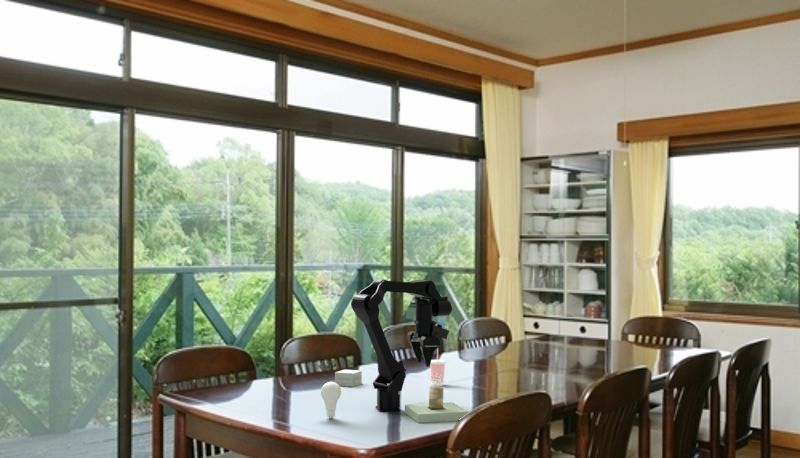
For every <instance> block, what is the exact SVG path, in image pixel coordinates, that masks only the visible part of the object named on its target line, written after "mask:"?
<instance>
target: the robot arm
mask: <svg viewBox="0 0 800 458" xmlns="http://www.w3.org/2000/svg"><path fill="white" fill-rule="evenodd" d="M387 292H390V293H391V292H392V293H403V294H405V293H406V294H408V295H411V296H414V298H413V299H412V300H411V301H410V304H411V305H415V316H414V317H415V319H413V324H415V328H414V329H415V331H414V330H413V331H411V330H410V331H409V332H408V333H407V337H406V338H407V340H408V343H409V345H410V347H411V349H412V352H413V354H414V357H415V360H416V361H417V363H422V359H423V361H424V364H425V367H429V368H430V363H431V360H433V356H434V353H435V351H437V348H438V349H439V348H440V346H442V339H444V340H447V338H448V337H449V334H450V330H448V329H445V328H443V325H442V324H440V323H436V321H435V320H433V317H435V318H436V317H437V318H439V317H449V316H450V315H451V313H452V311H453V306H452V303H451V302H450V300H449V299H448V298H449V296H448V295H447V296H446V295H442V296H441V294H440V292H439V290H438V289H437V287H436V284H435V282H434V281H433V280H431V279H430V280H428V279H426V280H425V279H416V280H410V281H398V280H388V279H382V278H376V279H374V280H373V281H372V282H371V283H370V284H369V285H368V286H366V287H364V288H363V289H362V290H360V291H359V293H357V294H355V295H354V296H353V297H352V298H351V302H350V305H351V309H352V311H353V312H354V314H355V315H356V317H358V318H359V320H360V321H362V322H361V323H363V324H364V327H365V329H366V331H367V335H368V337H369V339H370V342H371V345H372V347H373V349H374V353H375V355H376V357H377V360H378V368H377V371H378V375H377V376H376V377H375V379H374V381H373V382H372V386H373V388H374V389H375V390H376V405H375V408H376V409H377V410H378V411H379V412H395V411H396V412H397V411H400V409H401V407H400V406H401V404H400V403H401V401H400V400H401V395H400V394H399V392H402V390H403V386H404V383H405V380H406V378H407V374H406V372H407V369H406V368H405V366H404V363H403V360H402V359H399V358H395V357H394V355H393V353H392V350H391V347H390V345H389V342H388V340H387V336H386V335H385V331H384V329H383V327H382V324H381V321H380V318H379V316H380V306H379V305H380V304H381V303H382V301H384V298H385V295H386V293H387Z"/></svg>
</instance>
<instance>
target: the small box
mask: <svg viewBox="0 0 800 458" xmlns="http://www.w3.org/2000/svg"><path fill="white" fill-rule="evenodd" d="M362 374H363V371H362V370H355V369H342V370H339V371H335V372H334V382H335V383H337V384H338V385H339V386H340V387H348V386H351V387H350V388H352V387H353V386H354V387H356V385H357V386H358V385H362V384H363V381H362V380H363V378H362V377H363V375H362ZM354 387H353V388H354Z"/></svg>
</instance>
